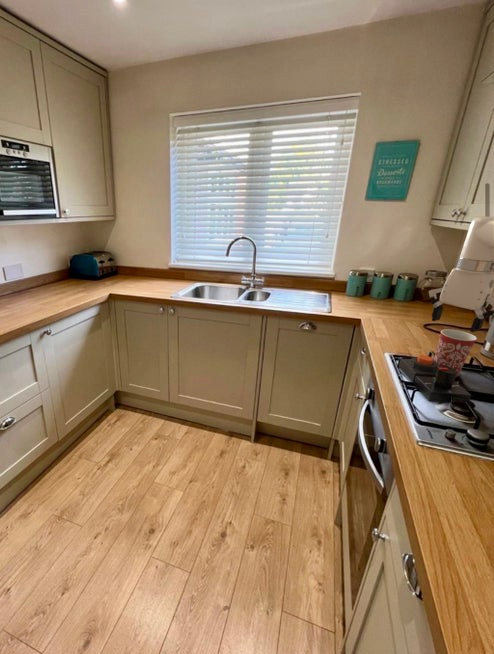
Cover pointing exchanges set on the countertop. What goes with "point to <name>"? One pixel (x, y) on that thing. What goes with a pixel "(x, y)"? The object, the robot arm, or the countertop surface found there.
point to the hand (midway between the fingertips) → (453, 325)
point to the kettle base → (417, 368)
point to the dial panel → (439, 390)
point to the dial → (445, 377)
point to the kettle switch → (425, 360)
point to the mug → (454, 349)
